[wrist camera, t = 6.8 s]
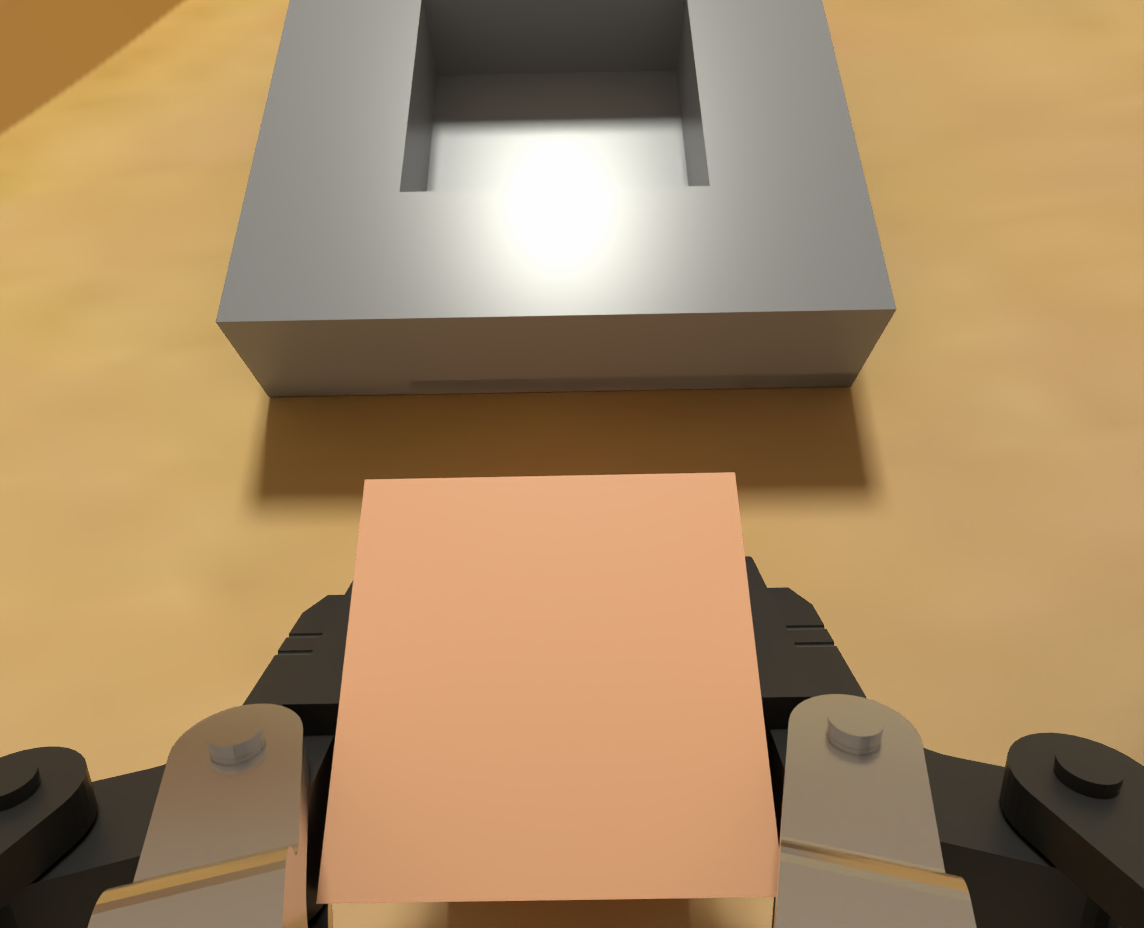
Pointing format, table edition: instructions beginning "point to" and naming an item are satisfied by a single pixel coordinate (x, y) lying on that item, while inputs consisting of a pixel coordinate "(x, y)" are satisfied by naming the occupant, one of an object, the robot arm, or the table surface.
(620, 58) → the block
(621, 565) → the block
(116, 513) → the table surface
